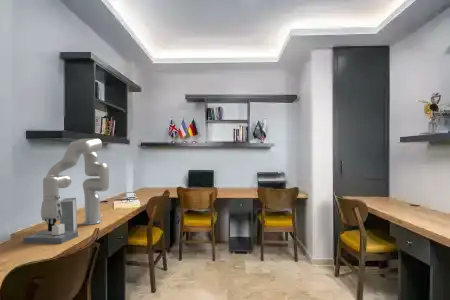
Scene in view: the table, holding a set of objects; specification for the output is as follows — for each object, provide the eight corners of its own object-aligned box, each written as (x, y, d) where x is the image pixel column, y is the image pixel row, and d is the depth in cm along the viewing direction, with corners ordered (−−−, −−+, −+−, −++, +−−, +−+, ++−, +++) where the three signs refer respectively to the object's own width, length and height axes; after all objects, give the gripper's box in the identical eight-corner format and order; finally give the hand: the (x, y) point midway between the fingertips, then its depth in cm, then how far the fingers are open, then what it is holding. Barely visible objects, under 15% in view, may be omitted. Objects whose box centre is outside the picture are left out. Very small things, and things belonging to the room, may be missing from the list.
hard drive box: (64, 228, 188) (63, 198, 189) (77, 227, 191) (76, 197, 192) (59, 234, 174) (59, 201, 174) (73, 233, 177) (73, 200, 177)
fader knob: (58, 232, 166) (58, 223, 166) (64, 232, 165) (64, 223, 165) (51, 235, 160) (51, 225, 161) (58, 235, 160) (58, 225, 160)
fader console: (42, 235, 172) (42, 230, 172) (78, 236, 169) (78, 230, 169) (23, 243, 158) (23, 237, 158) (61, 243, 155) (61, 237, 155)
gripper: (67, 197, 167) (67, 229, 166) (43, 197, 168) (44, 228, 168) (58, 199, 159) (58, 232, 159) (33, 199, 161) (34, 232, 161)
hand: (51, 230), depth 163 cm, fingers closed
